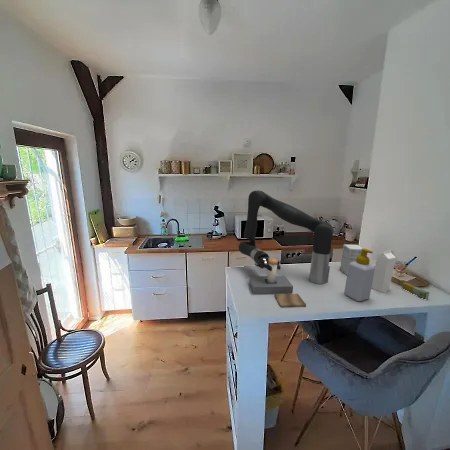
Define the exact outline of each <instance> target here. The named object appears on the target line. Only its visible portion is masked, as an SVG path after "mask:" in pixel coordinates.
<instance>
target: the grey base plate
mask: <svg viewBox="0 0 450 450" xmlns="http://www.w3.org/2000/svg"><path fill="white" fill-rule="evenodd" d="M267 277H268V275H266V276H265V275H261V276H259V275H258V276H257V275H256V276H254V275H252V276H249V280H248V281H249V282H248V284H249V287H250V288H251V291H252V294H253V295H275V294H294V293H293V292H294V285H293V284H292V283H291V281H290V280H289V279H288V277H287V276H286V275H276V283H275V284H267Z"/></svg>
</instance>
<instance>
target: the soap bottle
mask: <svg viewBox="0 0 450 450" xmlns="http://www.w3.org/2000/svg"><path fill="white" fill-rule="evenodd" d="M368 254H373V251H372V250H370V249H368V248H364V247H362V251H361V255H359V256H358V257H357V259H356V261H354V262H351V263H350V264H349V267H348V273H347V275H346V281H345V285H344V291H343V293H344V295H345V296H347V297H349V298H351V299H353V300H354V301H357V302H363V301H366V300H369V299H370V296H371V292H372V282H373V277H374V272H375V265H374V264H372V263H371V262H370V261H371V260H370V258H369V257H368Z"/></svg>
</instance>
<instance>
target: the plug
mask: <svg viewBox="0 0 450 450" xmlns="http://www.w3.org/2000/svg"><path fill="white" fill-rule="evenodd" d="M278 260H279V259H278V258H277V257H269V260H268V263H269V265H270V266H271V267H272V271H269V270H268V269H267V276H268V277H267V284H275V283H276V276H277V272H278V269H277V264H278Z"/></svg>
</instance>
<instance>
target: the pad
mask: <svg viewBox="0 0 450 450" xmlns="http://www.w3.org/2000/svg"><path fill="white" fill-rule="evenodd" d="M273 295H274V296H273V297H274V299H275V300H276V302H277V303H278V305H279V307H280V308H305V307H307V304H306V302H305V301H304V300H303V298H302V297H301V296H300V294H299V293H292V294H273Z"/></svg>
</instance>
